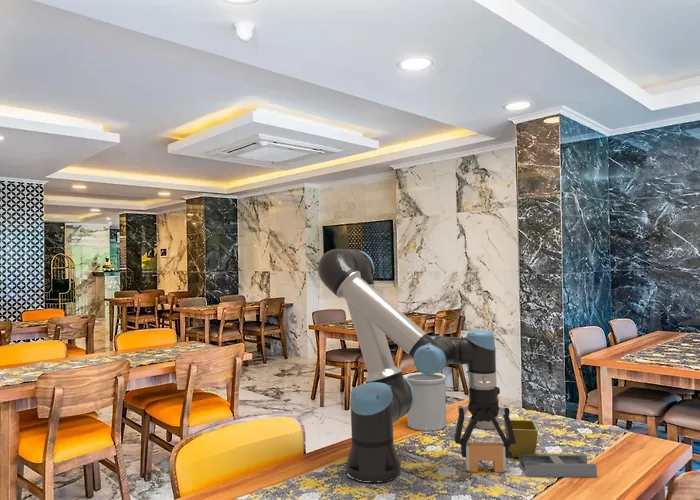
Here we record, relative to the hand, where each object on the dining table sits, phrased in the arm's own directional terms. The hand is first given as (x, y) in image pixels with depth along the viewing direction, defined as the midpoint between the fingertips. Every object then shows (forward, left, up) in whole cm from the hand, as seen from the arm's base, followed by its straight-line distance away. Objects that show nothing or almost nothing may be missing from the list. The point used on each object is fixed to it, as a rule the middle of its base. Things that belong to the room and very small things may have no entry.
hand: (485, 468), depth 137 cm
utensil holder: (-14, +39, -1) cm, 41 cm away
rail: (+19, 0, 0) cm, 19 cm away
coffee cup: (+7, +37, -1) cm, 38 cm away
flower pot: (+12, +11, -1) cm, 17 cm away
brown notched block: (0, 0, 0) cm, 0 cm away
